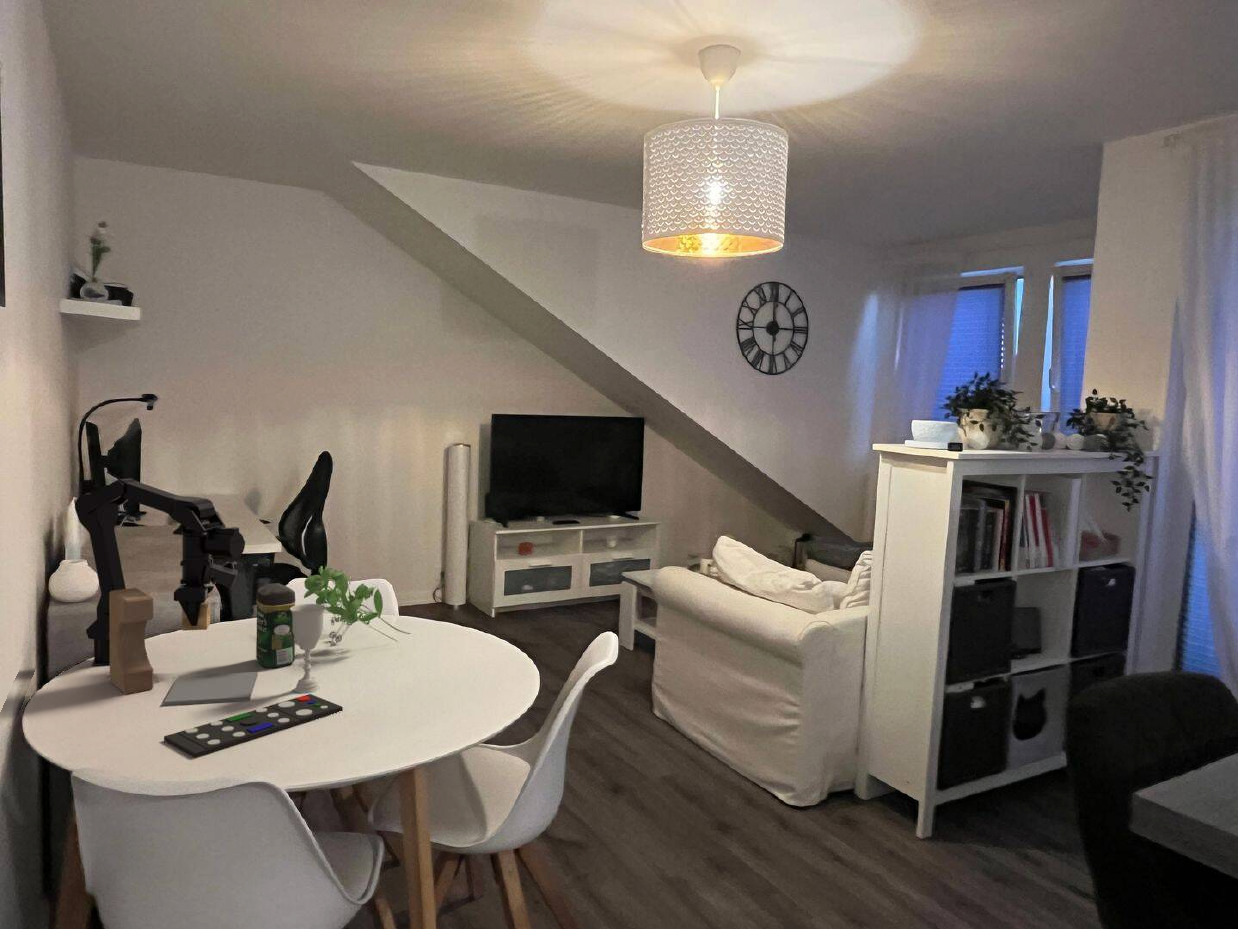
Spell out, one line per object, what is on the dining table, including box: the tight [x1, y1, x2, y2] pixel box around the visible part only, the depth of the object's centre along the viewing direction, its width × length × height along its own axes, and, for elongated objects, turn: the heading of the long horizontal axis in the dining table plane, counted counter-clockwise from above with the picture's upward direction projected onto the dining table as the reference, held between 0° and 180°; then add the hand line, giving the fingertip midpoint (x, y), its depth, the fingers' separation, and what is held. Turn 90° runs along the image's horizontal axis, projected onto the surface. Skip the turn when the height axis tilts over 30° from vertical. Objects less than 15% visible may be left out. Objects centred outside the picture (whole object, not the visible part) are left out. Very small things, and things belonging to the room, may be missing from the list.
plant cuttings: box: [303, 565, 411, 644], centre depth 221 cm, size 35×17×22 cm
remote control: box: [163, 693, 344, 759], centre depth 164 cm, size 11×30×2 cm, turn 144°
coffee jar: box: [255, 582, 296, 668], centre depth 200 cm, size 10×8×19 cm
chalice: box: [290, 603, 327, 694], centre depth 184 cm, size 7×7×18 cm
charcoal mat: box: [163, 671, 258, 707], centre depth 182 cm, size 16×16×1 cm
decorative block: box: [109, 587, 154, 695], centre depth 181 cm, size 11×6×20 cm, turn 45°
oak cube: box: [181, 601, 211, 631], centre depth 192 cm, size 5×5×5 cm
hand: (196, 622), depth 193 cm, fingers closed on oak cube, 5 cm apart
